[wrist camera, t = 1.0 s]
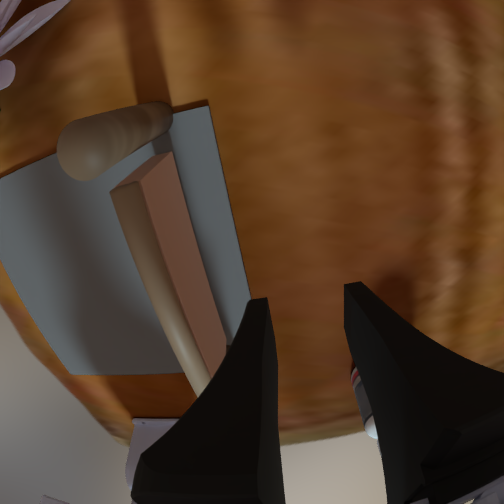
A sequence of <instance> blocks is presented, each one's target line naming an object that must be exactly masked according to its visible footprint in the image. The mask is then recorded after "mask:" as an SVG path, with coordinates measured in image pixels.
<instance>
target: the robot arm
mask: <svg viewBox="0 0 504 504" xmlns="http://www.w3.org/2000/svg"><path fill="white" fill-rule="evenodd" d="M344 329H345V333H346V337H347V341H348V345H349V349H350V352H351V355H352V358H353V360H354V363H355V365H356V368H357V371H358V373H359V376H360V379H361V381H362V384H363V387H364V389H365V392H366V395H367V397H368V400H369V403H370V406H371V410H372V414H373V418H374V422H375V427H376V431H377V436H378V441H379V447H380V452H381V458H382V463H383V470H384V476H385V484H386V493H387V504H464V503H466V502H468V501H471V500H473V499H474V501H473V503H471V504H504V373H502V372H499V371H496V370H493V369H490V368H488V367H485V366H483V365H480V364H478V363H475V362H473V361H471V360H469V359H467V358H464V357H462V356H461V355H459V354H457V353H455V352H453V351H451V350H449V349H447V348H445V347H444V346H442V345H440V344H439V343H437V342H435V341H434V340H432V339H431V338H429V337H427V336H426V335H424V334H423V333H422V332H420V331H419V330H417V329H416V328H415V327H413V326H412V325H411V324H409V323H408V322H407V321H406V320H404V319H403V318H402V317H401V316H399V315H398V314H397V313H396V312H395V311H393V310H392V309H391V308H390V307H389V306H388V305H386V304H385V303H384V302H383V301H382V300H381V299H380V298H379V297H377V296H376V295H375V294H374V293H373V292H372V291H371V290H370V289H369V288H368V287H367V286H366V285H364V284H363V283H362V282H361V281H360V282H354V283H349V284H344ZM132 422H133V424H134V425H135V427H134V431H133V435H132V439H131V444H130V448H129V453H128V457H127V462H126V470H125V473H126V480H127V484H128V486H129V488H130V490H131V498H132V503H131V504H286V503H285V494H284V484H283V474H282V464H281V454H280V443H279V432H278V360H277V352H276V343H275V336H274V331H273V326H272V321H271V315H270V310H269V305H268V300H267V297H266V298H259V299H252V300H249V301H248V302H247V305H246V308H245V312H244V315H243V318H242V320H241V323H240V325H239V328H238V330H237V332H236V335H235V337H234V339H233V341H232V344H231V346H230V348H229V350H228V351H227V353H226V355H225V357H224V359H223V361H222V363H221V364H220V366H219V368H218V369H217V371H216V373H215V374H214V376H213V377H212V379H211V380H210V382H209V383H208V385H207V386H206V388H205V389H204V390H203V392H202V393H201V394H200V395H199V397H198V398H197V399H196V401H195V402H194V403H193V404H192V406H191V407H190V408H189V409H188V410H187V411H186V412H185V413H184V415H183V416H182V417H181V418H180V419H144V418H134V419H133V420H132ZM40 504H69V503H66V502H63V501H60V500H57V499H54V498H51V497H49V496H46V495H43V496H42V497H41V501H40Z"/></svg>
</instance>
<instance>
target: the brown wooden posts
mask: <svg viewBox="0 0 504 504" xmlns="http://www.w3.org/2000/svg"><path fill="white" fill-rule="evenodd" d="M173 114H174V112H173V110H172V108H171V107H170V106H169V105H168V104H167V103H165V102H161V101H155V102H150V103H144V104H139V105H134V106H130V107H125V108H121V109H116V110H112V111H108V112H104V113H100V114H96V115H92V116H88V117H85V118H81V119H78V120H75V121H72V122H71V123H69V124H68V125H67V126H66V127H65V128H64V129H63V130H62V132H61V134H60V136H59V138H58V142H57V157H58V160H59V163H60V165H61V167H62V169H63V170H64V171H65V172H66V173H67V174H68V175H69V176H70V177H72V178H74V179H76V180H80V181H89V180H92V179H95V178H96V177H98V176H99V175H101V174H102V173H104V172H105V171H107V170H108V169H109V168H111V167H112V166H114V165H115V164H117V163H118V162H120V161H121V160H123V159H124V158H126V157H127V156H129V155H130V154H132V153H134V152H135V151H137V150H138V149H140V148H141V147H143V146H145V145H146V144H148V143H149V142H151V141H153V140H154V139H156V138H158V137H159V136H161V135H163V134H164V133H166V132H167V131H168V130H169V129H170V127H171V126H172V123H173ZM229 348H230V345H226V353H227V351H228V350H229Z"/></svg>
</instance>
